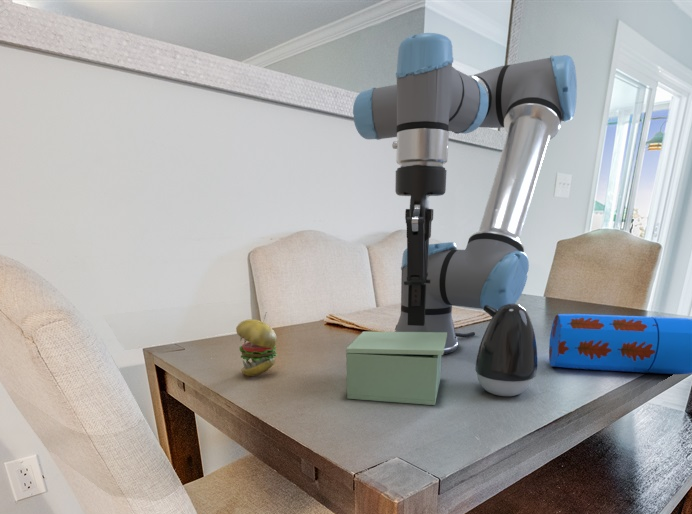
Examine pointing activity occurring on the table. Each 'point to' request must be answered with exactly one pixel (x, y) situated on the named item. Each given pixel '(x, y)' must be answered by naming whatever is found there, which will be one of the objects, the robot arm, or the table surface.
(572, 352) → the thermos
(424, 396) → the keepsake box
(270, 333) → the hamburger
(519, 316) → the pump dispenser
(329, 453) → the table surface
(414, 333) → the lid
